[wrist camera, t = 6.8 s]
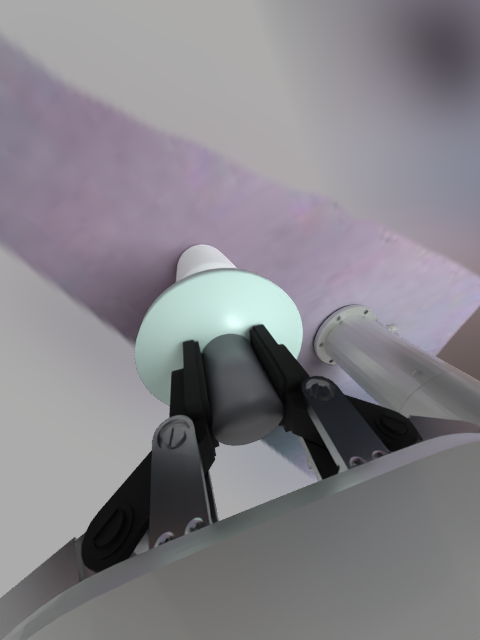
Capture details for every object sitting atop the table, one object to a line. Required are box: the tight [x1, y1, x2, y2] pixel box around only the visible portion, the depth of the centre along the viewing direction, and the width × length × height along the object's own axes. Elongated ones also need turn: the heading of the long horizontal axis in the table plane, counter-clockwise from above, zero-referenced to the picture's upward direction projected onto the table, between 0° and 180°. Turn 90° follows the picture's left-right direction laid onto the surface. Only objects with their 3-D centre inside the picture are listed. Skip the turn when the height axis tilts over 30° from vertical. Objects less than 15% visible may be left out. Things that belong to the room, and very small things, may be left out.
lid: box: [135, 268, 303, 446], centre depth 10 cm, size 9×9×5 cm
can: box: [176, 245, 236, 282], centre depth 21 cm, size 6×6×12 cm
